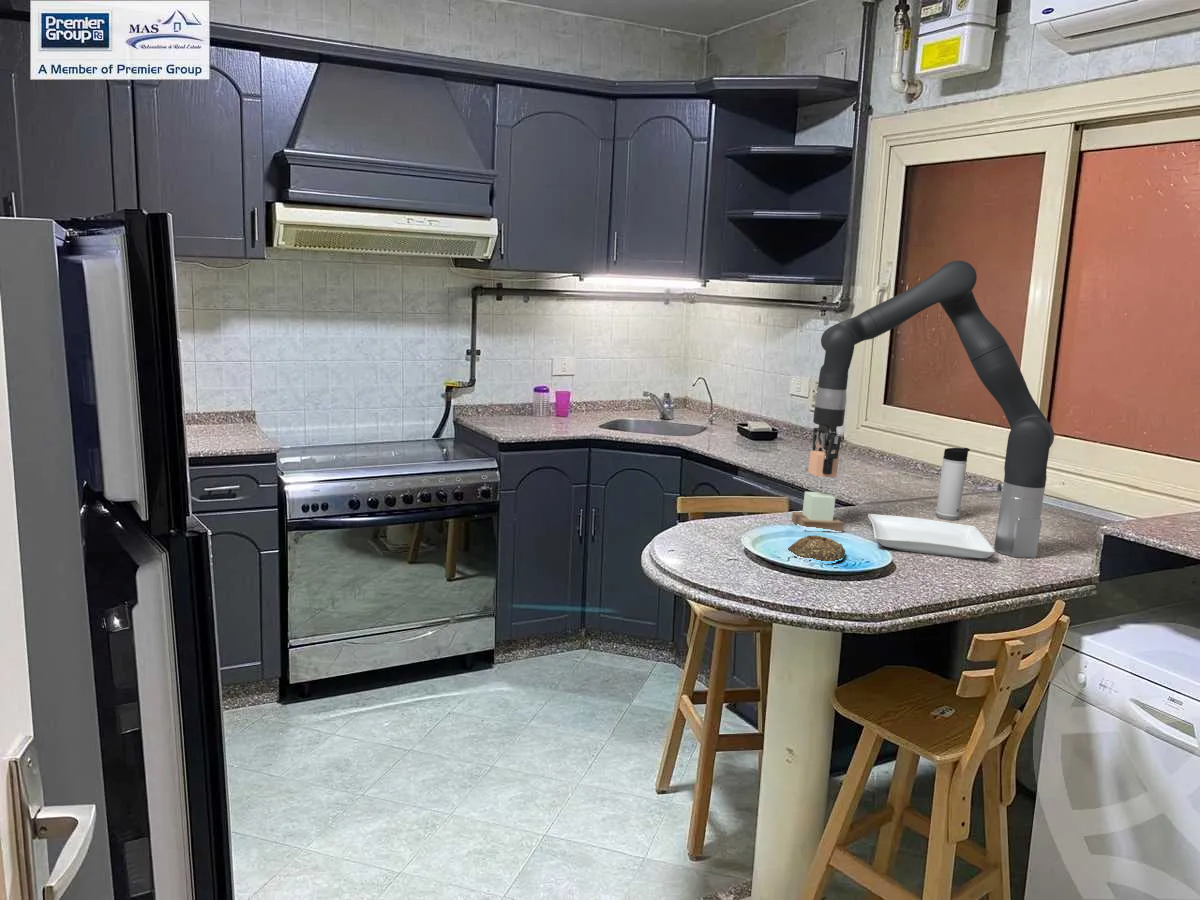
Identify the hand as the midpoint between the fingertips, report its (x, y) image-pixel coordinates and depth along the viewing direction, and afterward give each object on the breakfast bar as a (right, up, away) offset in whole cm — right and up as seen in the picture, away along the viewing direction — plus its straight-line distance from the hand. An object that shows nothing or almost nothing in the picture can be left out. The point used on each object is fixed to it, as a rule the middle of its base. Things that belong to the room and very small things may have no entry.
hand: (822, 471), depth 239 cm
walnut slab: (-1, -14, +2) cm, 15 cm away
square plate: (+24, -18, -6) cm, 31 cm away
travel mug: (+41, -14, +24) cm, 49 cm away
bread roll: (-7, -19, -24) cm, 32 cm away
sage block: (-1, -12, +2) cm, 12 cm away
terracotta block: (0, -1, 0) cm, 1 cm away
